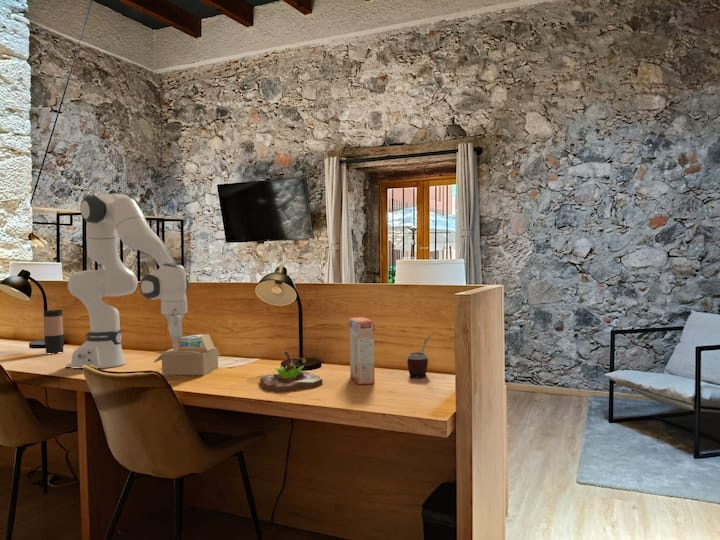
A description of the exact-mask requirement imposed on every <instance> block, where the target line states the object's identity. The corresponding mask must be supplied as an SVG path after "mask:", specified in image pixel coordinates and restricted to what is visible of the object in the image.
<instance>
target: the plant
mask: <svg viewBox="0 0 720 540" xmlns="http://www.w3.org/2000/svg"><path fill="white" fill-rule="evenodd" d="M289 354H290V353H289V352H288V351H287V350H285V351H284V352H283V356H285V357H286V360H287V362H286V366H285V367H284V366H283V365H280V368H277V367H274V369H275V371H276V372H278V373H273V374H268V375H264V376H261V377H260V378H259V381H260V383H259V384H260V385H261V387H262V390H266V391H267V392H275V393H289V392H295V391H299V390H306V389H307V390H308V389H315V388H317V387H320V386H322V385H323V378H320V375H316V374H314V373H312V372H309V371H305V370H304V369H303V368H304V365H302V366H299V367H297V368H296V363H297V362H298V361H301V362H302V364H305V363H306V359H305V357H304V358H303V357H299V358H296V359H295V360H294V361H293V359H291V357H290V355H289Z"/></svg>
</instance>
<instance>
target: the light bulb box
mask: <svg viewBox="0 0 720 540" xmlns="http://www.w3.org/2000/svg"><path fill="white" fill-rule="evenodd" d="M203 335H204V334H202V333H199V334H192V335H187V336H182V337H180V338H179V340H180V345H179V348H181V347H204V345H203V343H202V341H201V339H200V336H203ZM209 336H210V337H211V335H209Z"/></svg>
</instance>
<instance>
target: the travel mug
mask: <svg viewBox="0 0 720 540" xmlns="http://www.w3.org/2000/svg"><path fill="white" fill-rule="evenodd" d="M43 317H44V318H43V319H44V320H43V321H44V323H43V324H44V325H43V326H44V344H45V353H58V352H63V353H64V324H63V323H64V321H63V309H53V310H50V309H49V310H44V311H43Z"/></svg>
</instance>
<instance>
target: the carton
mask: <svg viewBox="0 0 720 540" xmlns="http://www.w3.org/2000/svg"><path fill="white" fill-rule="evenodd" d="M214 347H215V348H213V349H211V350H209V351H206V349H205V347H178V348H171V349H167V351H194V352H199V353H200V354H162V353H160V354H159V356H158V357H156V359H154V361H153V363H157V362H159V361H161V375H162V374H164V375H165V376H166V377H168V375H203V376H202V377H204V375H205V376H206V375H209V374H210V373H212V372H214V371H216V370H218V369H219V356H221V353H220V352H219V349H218V347H216V346H214ZM217 368H218V369H217ZM215 369H216V370H215ZM213 370H214V371H213ZM211 371H212V372H211ZM209 372H210V373H209Z"/></svg>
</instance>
